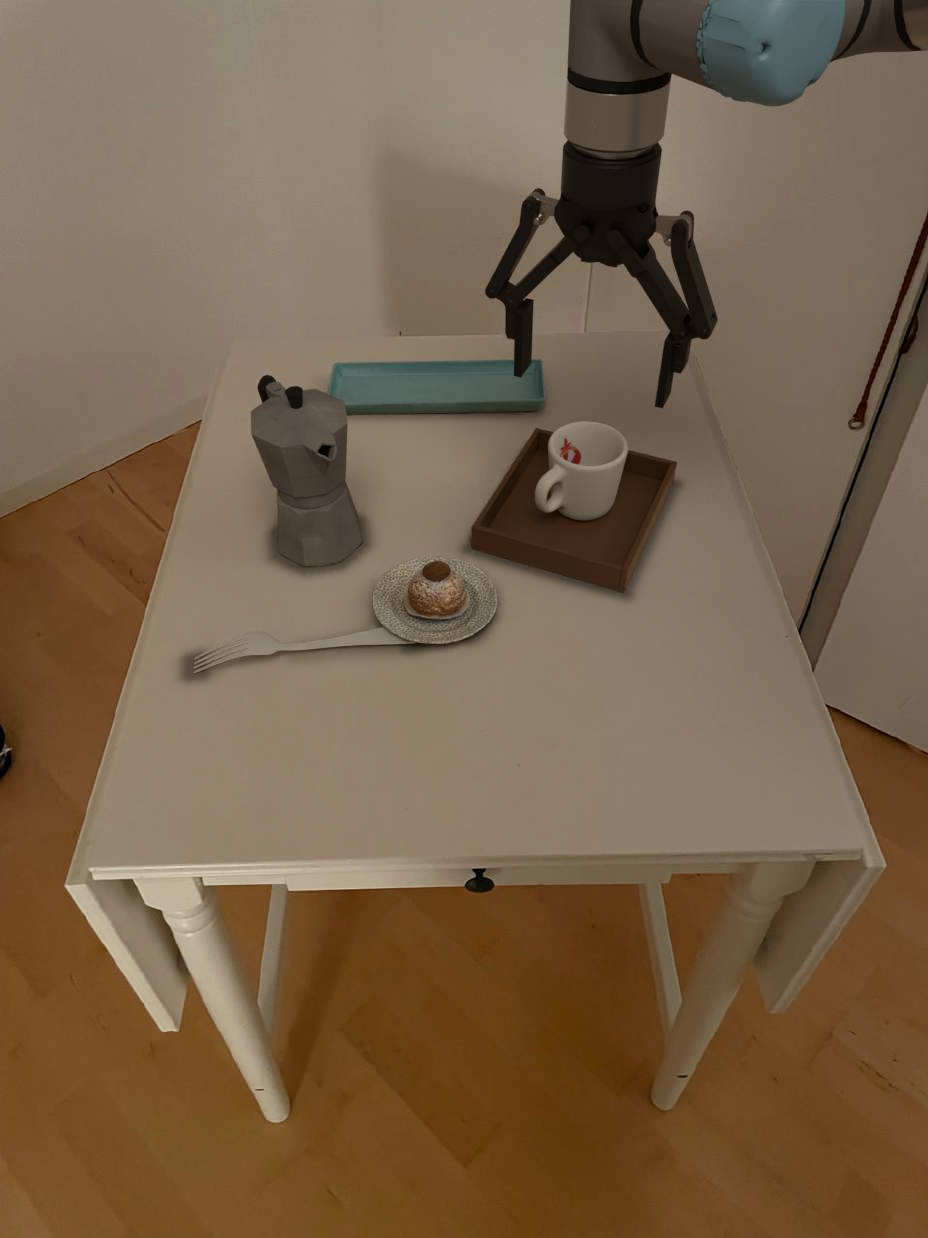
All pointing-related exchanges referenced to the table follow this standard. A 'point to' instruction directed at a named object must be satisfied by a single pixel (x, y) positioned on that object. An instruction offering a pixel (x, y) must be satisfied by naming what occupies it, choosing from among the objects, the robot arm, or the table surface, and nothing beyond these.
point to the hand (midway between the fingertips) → (590, 384)
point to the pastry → (434, 600)
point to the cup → (582, 470)
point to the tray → (569, 544)
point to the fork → (293, 644)
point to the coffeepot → (307, 472)
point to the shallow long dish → (437, 386)
